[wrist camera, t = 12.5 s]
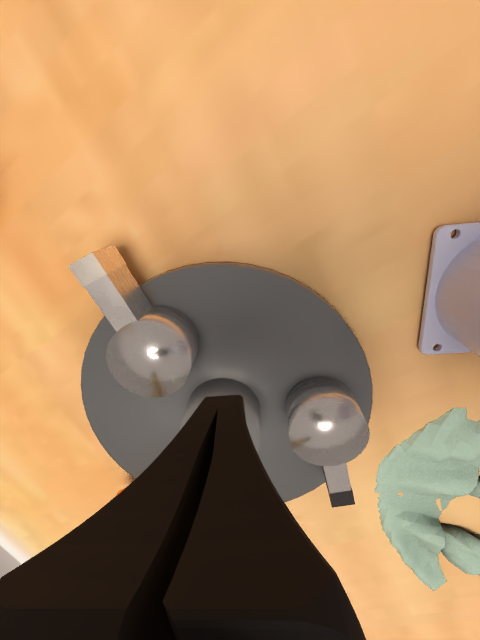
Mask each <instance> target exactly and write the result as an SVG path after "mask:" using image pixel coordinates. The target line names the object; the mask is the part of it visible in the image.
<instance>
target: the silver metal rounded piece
mask: <svg viewBox="0 0 480 640" xmlns="http://www.w3.org/2000/svg"><path fill="white" fill-rule="evenodd" d="M68 267H69V268H70V269H71V271H72V272H73V274H74V275H75V276H76V278H77V279H78V281H79V282H80V284H81V285H82V286H83V287H85V288H86V289H87V291H88V292H89V294H90V295H91V297H92V298H93V299H94V301H95V302H96V304H97V305H98V306H99V308H100V309H101V311H102V312H103V313H104V315H105V316H106V318H107V319H108V321H109V322H110V323H111V325H112V326H113V328H114V329H115V330H116V333H115V334H114V335H113V336H112V338H111V339H110V341H109V343H108V346H107V351H106V360H107V365H108V367H109V370H110V372H111V374H112V375H113V377H114V378H115V379H116V381H117V382H118V383H119V384H120V385H121V386H123V387H124V388H125V389H127V390H129V391H130V392H132V393H135V394H137V395H140V396H144V397H155V398H156V397H163V396H167V395H170V394H172V393H174V392H176V391H177V390H178V389H180V388H181V387H182V386H183V384H184V383H185V382H186V380H187V378H188V375H189V373H190V370H191V367H192V365H193V362H194V359H195V357H196V354H197V352H198V348H199V337H198V333H197V330H196V328H195V326H194V325H193V323H192V322H191V321H190V319H189V318H188V317H187V316H185V315H184V314H183V313H181V312H180V311H178V310H176V309H174V308H171V307H167V306H152V305H151V304H150V302H149V300H148V299H147V297H146V296H145V294H144V293H143V291H142V290H141V288H140V286H139V285H138V283H137V282H136V280H135V279H134V277H133V276H132V274H131V272H130V271H129V269H128V268H127V266H126V262H125V261H124V259H123V258H122V256H121V255H120V253H119V252H118V250H117V248H116V247H115V245H113V246H110V247H107V248H104V249H101V250H98V251H95V252H92V253H90V254H88V255H87V256H85V257H83V258H81V259H80V260H78V261H76V262H75V263H73V264H71V265H69V266H68Z"/></svg>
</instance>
